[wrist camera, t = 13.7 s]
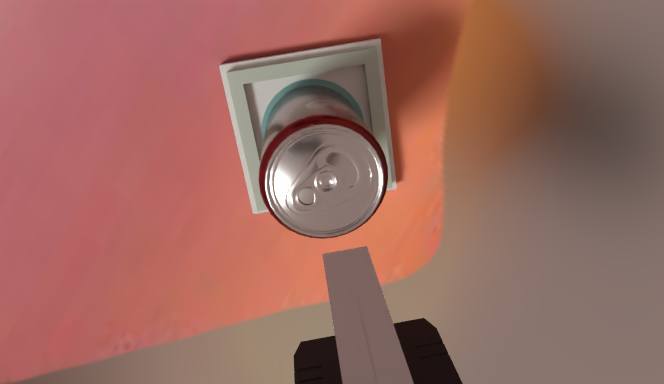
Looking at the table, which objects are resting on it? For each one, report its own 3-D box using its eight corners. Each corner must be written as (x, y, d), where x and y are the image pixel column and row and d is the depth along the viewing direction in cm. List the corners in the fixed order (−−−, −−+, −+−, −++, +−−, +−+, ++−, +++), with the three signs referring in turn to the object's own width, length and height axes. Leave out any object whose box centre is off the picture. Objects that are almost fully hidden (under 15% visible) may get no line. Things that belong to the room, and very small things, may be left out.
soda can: (326, 64, 36) (346, 90, 25) (376, 143, 38) (414, 199, 27) (246, 118, 37) (230, 166, 26) (300, 192, 39) (306, 265, 28)
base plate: (220, 63, 36) (217, 66, 35) (378, 38, 37) (382, 39, 35) (253, 209, 41) (252, 218, 39) (394, 184, 41) (399, 192, 39)
